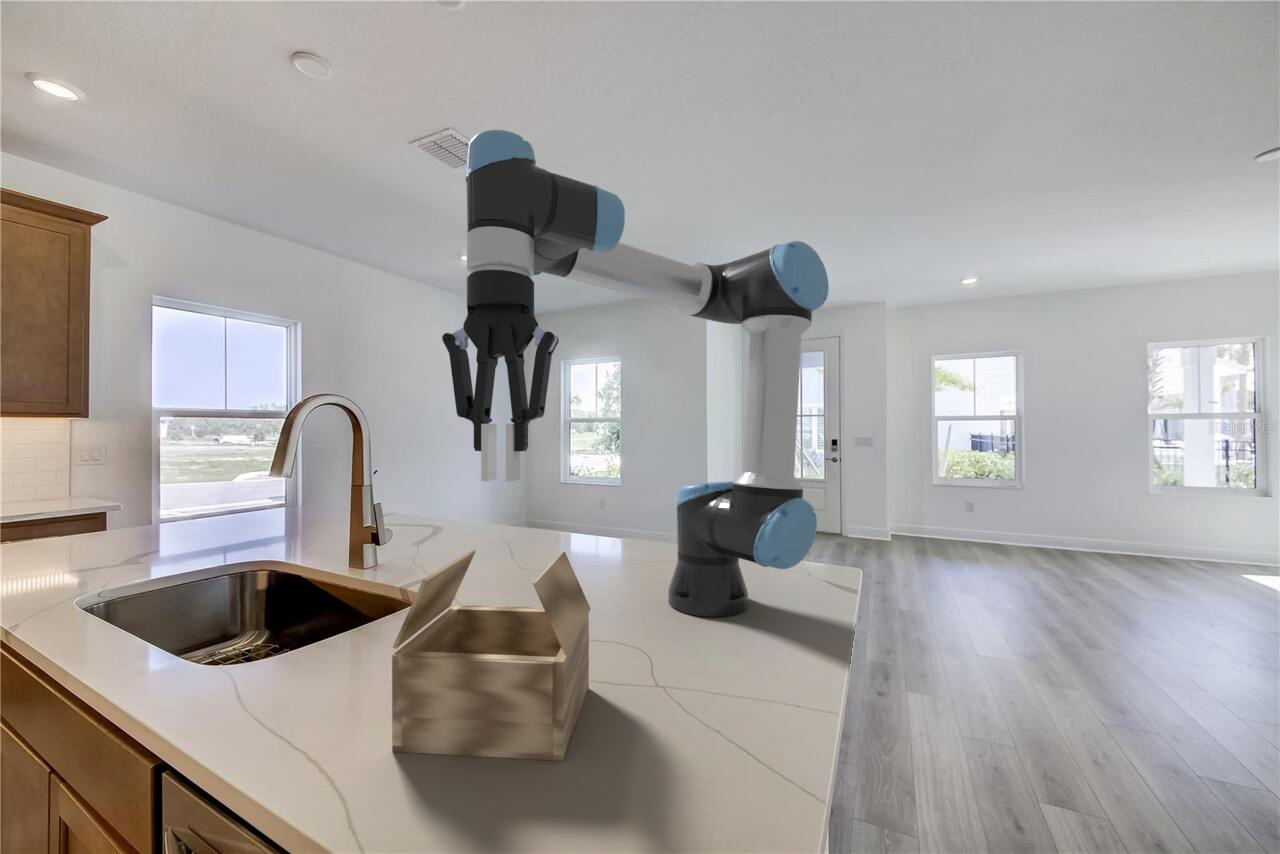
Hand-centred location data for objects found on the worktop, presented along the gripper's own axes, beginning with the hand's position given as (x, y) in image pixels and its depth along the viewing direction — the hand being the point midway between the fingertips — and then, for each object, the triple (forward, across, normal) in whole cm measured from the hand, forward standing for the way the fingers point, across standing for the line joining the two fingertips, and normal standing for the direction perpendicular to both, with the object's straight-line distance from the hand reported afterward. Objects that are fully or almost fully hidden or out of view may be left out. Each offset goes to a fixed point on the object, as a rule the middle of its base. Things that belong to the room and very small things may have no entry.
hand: (501, 479), depth 58 cm
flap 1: (+14, +7, 0) cm, 15 cm away
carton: (+27, 0, 0) cm, 27 cm away
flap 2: (+14, -7, 0) cm, 15 cm away
